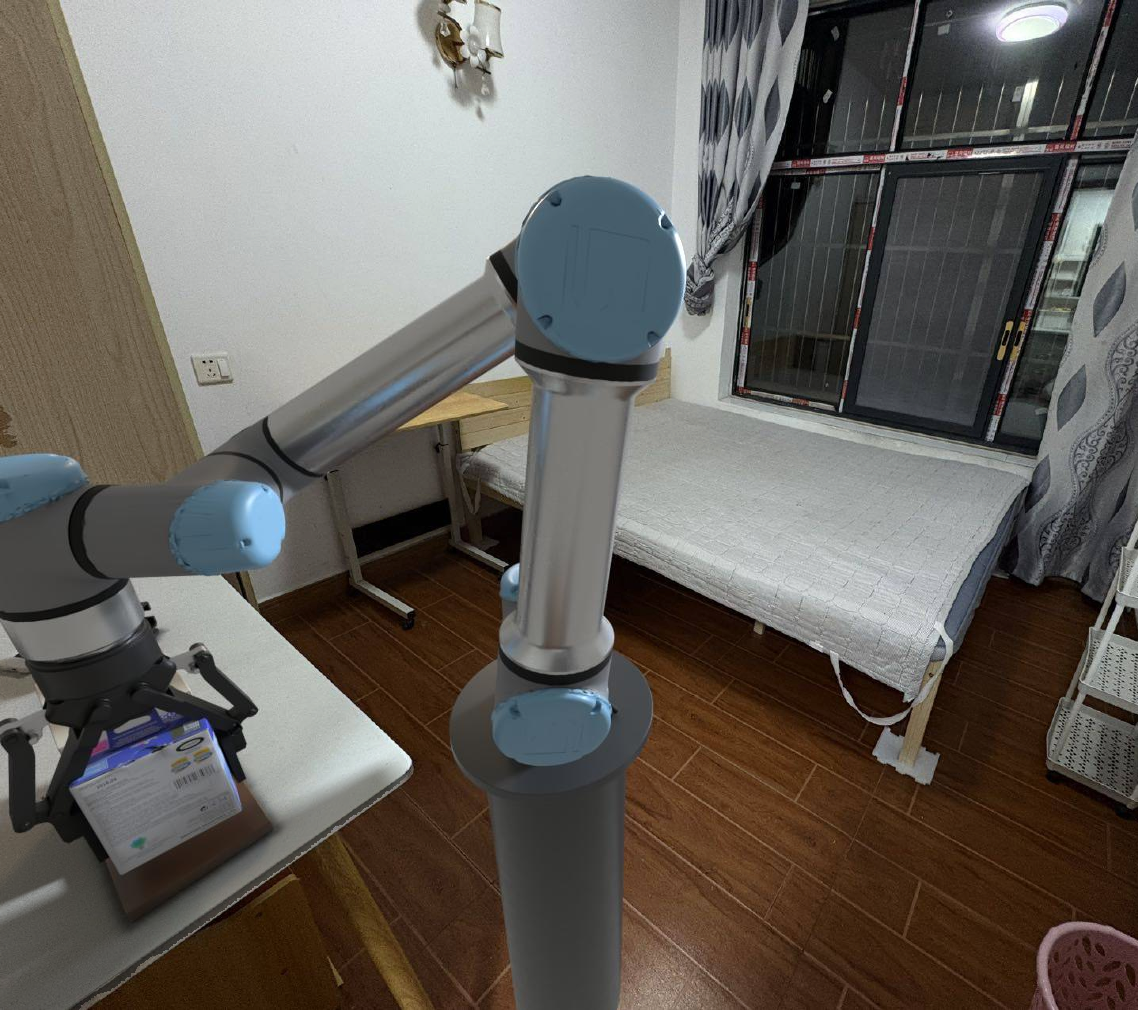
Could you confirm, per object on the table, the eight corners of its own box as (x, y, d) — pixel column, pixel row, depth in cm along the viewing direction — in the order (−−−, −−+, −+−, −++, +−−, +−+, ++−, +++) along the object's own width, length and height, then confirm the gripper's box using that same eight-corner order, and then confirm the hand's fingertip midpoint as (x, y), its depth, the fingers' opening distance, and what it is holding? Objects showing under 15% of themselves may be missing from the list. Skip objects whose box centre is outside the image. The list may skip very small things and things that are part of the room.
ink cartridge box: (234, 777, 62) (193, 679, 55) (246, 810, 58) (205, 710, 52) (113, 837, 55) (52, 733, 49) (120, 878, 52) (54, 772, 45)
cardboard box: (274, 829, 61) (234, 729, 54) (131, 923, 52) (63, 817, 46) (204, 724, 73) (164, 632, 67) (79, 786, 64) (18, 687, 58)
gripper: (231, 567, 56) (284, 723, 66) (-141, 689, 40) (1, 875, 49) (260, 595, 52) (312, 757, 62) (-140, 744, 36) (14, 934, 45)
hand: (174, 809), depth 56 cm, fingers closed on ink cartridge box, 10 cm apart
